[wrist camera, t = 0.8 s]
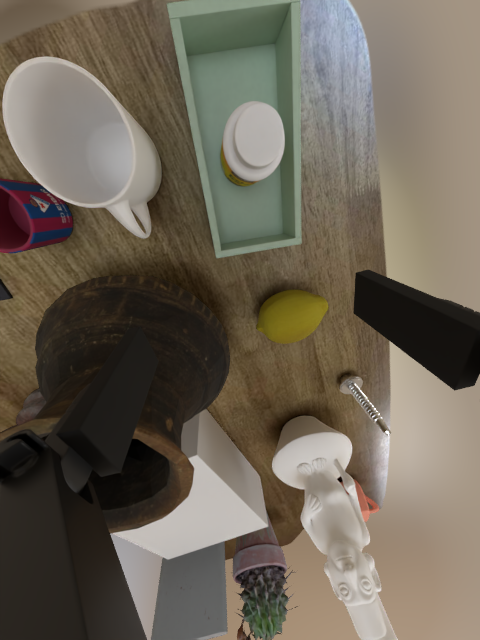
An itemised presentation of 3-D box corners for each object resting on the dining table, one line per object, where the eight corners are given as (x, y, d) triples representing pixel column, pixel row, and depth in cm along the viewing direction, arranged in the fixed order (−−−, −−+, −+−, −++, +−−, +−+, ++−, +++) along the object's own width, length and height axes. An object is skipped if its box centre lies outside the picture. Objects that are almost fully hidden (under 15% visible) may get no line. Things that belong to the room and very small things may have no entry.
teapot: (367, 480, 70) (390, 520, 61) (339, 497, 73) (357, 537, 64) (342, 468, 64) (362, 510, 55) (313, 487, 68) (328, 530, 59)
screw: (338, 370, 45) (359, 369, 45) (332, 387, 47) (352, 386, 47) (381, 426, 33) (409, 424, 34) (370, 445, 35) (396, 443, 36)
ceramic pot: (230, 380, 43) (246, 530, 23) (103, 394, 41) (1, 571, 21) (221, 255, 31) (236, 340, 11) (42, 266, 29) (-317, 392, 9)
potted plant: (291, 512, 75) (324, 640, 53) (244, 531, 78) (256, 659, 56) (268, 494, 66) (295, 635, 45) (216, 516, 70) (217, 659, 48)
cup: (85, 232, 28) (50, 239, 22) (18, 259, 28) (-34, 274, 22) (46, 173, 25) (-8, 162, 19) (-29, 205, 25) (-104, 205, 19)
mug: (127, 243, 29) (86, 261, 20) (66, 132, 23) (-33, 82, 14) (187, 222, 29) (174, 230, 19) (140, 104, 23) (89, 33, 13)
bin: (176, 48, 21) (166, 2, 16) (280, 34, 22) (300, -16, 17) (215, 250, 31) (216, 258, 26) (287, 238, 31) (301, 243, 26)
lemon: (255, 332, 38) (265, 361, 31) (246, 292, 34) (255, 314, 27) (314, 317, 38) (338, 342, 31) (312, 275, 34) (338, 293, 27)
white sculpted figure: (335, 394, 48) (508, 658, 20) (335, 448, 59) (448, 671, 31) (259, 413, 48) (324, 702, 20) (272, 464, 59) (327, 700, 31)
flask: (171, 523, 68) (152, 673, 46) (166, 517, 66) (143, 671, 44) (224, 511, 68) (230, 654, 47) (221, 504, 66) (226, 652, 44)
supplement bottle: (220, 186, 27) (224, 176, 18) (219, 128, 24) (223, 82, 15) (264, 188, 27) (289, 179, 18) (267, 131, 25) (299, 89, 16)
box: (174, 506, 63) (167, 559, 54) (88, 446, 47) (57, 507, 37) (259, 476, 61) (268, 526, 51) (200, 401, 44) (196, 454, 35)
